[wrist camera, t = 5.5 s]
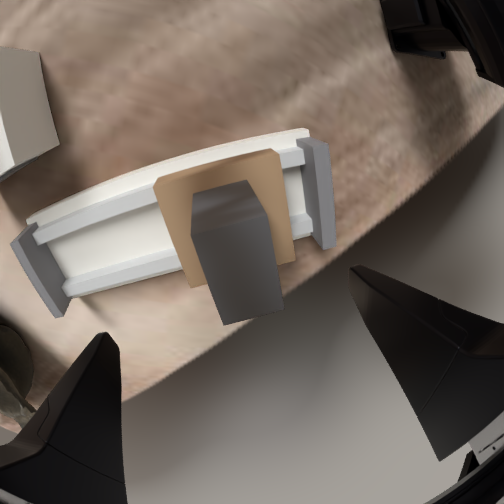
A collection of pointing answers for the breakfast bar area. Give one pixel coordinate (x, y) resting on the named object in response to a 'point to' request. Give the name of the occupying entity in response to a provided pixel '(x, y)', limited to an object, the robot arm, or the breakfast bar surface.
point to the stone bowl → (15, 377)
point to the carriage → (231, 230)
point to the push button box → (23, 111)
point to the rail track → (156, 220)
